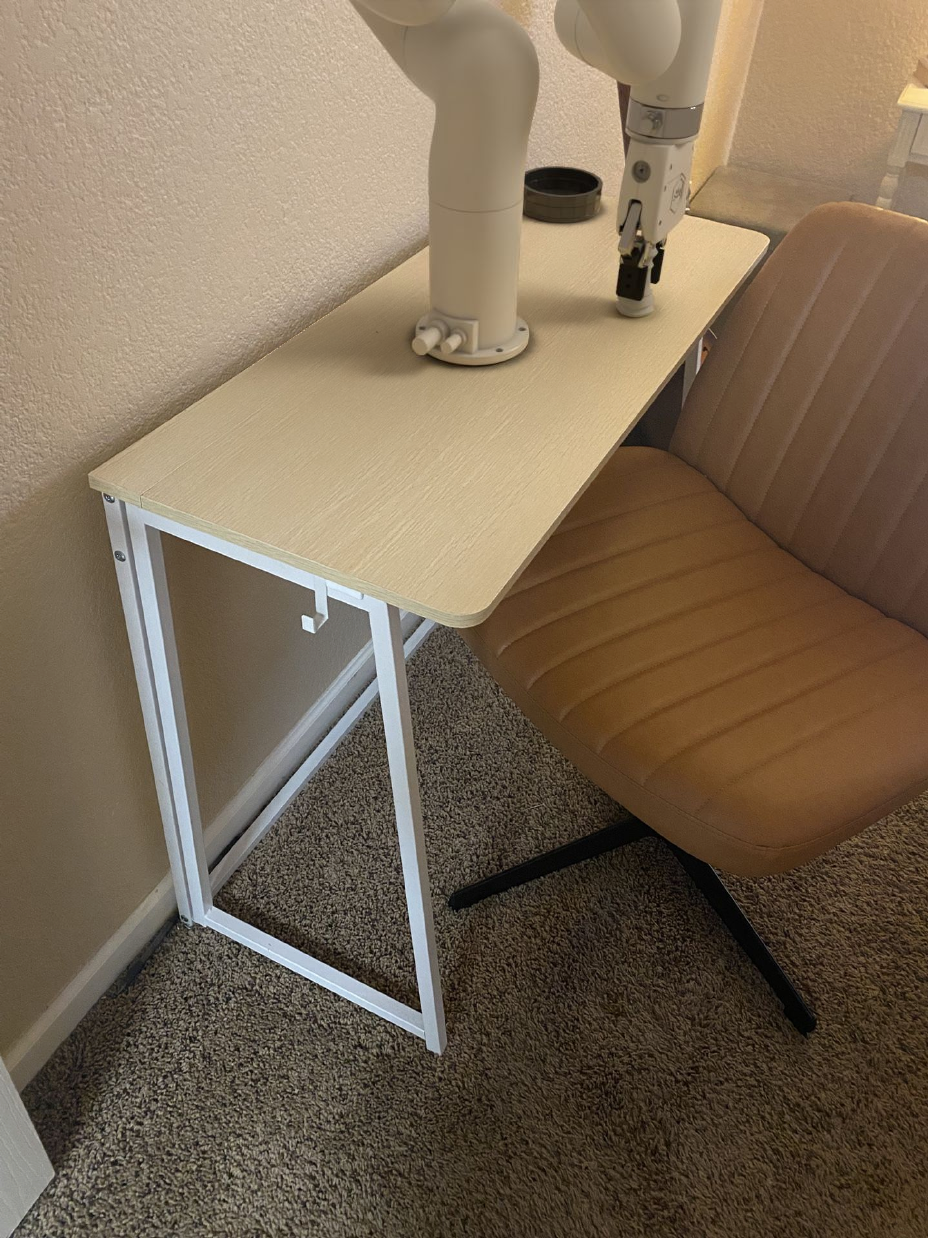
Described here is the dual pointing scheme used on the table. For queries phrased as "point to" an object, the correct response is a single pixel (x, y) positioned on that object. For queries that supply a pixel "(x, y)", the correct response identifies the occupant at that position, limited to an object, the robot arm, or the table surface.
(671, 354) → the table surface
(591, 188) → the pan
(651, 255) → the rook chess piece
